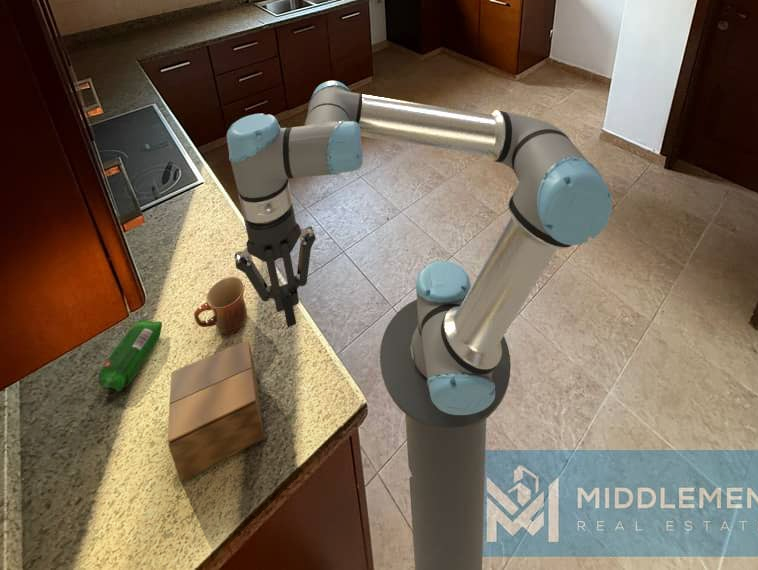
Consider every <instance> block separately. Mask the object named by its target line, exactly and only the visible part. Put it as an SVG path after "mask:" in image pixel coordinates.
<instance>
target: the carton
mask: <svg viewBox="0 0 758 570" xmlns="http://www.w3.org/2000/svg"><path fill="white" fill-rule="evenodd" d="M250 368H252V375H253V383H254V392H255V400H256V401H255V402H253V403H250V404H248V405H246V406H244V407H242V408H240V409H238V410H236V411H234V412H231V413H229V414H227V415H225V416H223V417H221V418H219V419H217V420H215V421H213V422H210V423H208V424H206V425H204V426H202V427H200V428H198V429H196V430H194V431H192V432H189V433H187V434H185V435H183V436H181V437H179V438H177V439H175V440H173V441H171V442H168V441H167V445H168V448H169V451H170V454H171V457H172V460H173V463H174V466H175V469H176V472H177V475H178V478H179V481H180V482H183V481H184V480H187V479H188V478H190V477H192V476H194V475H197V474H198V473H200V472H202V471H204V470H206V469H208V468H210V467H212V466H214V465H216V464H218V463H220V462H222V461H224V460H226V459H228V458H229V457H231V456H234V455H235V454H237V453H240V452H241V451H243V450H245V449H247V448H249V447H251V446H253V445H256V444H257V443H259V442H261V441H263V440H264V439H265V433H264V424H263V418H262V409H261V401H260V393H259V392H260V391H259V385H258V378H257V377H258V376H257V372H256V367H255V363H254V358H253V353H252V349H251V344H250V342H249V339H246V340H244V341H241V342H239V343H237V344H234V345H233V346H230V347H227V348H225V349H222V350H220V351H218V352H215V353H213V354H210V355H208V356H206V357H204V358H201V359H199V360H196V361H195V362H192V363H190V364H187V365H185V366H182V367H180V368H178V369H175V370H173V371H171V373H170V375H171V376H170V388H169V389H170V390H169V405H170V404H172V403H174V402H176V401H179V400H181V399H183V398H185V397H187V396H190V395H192V394H194V393H196V392H199V391H201V390H203V389H205V388H208V387H210V386H212V385H214V384H217V383H219V382H221V381H223V380H226V379H228V378H230V377H232V376H235V375H237V374H239V373H241V372H244V371H246V370H248V369H250Z"/></svg>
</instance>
